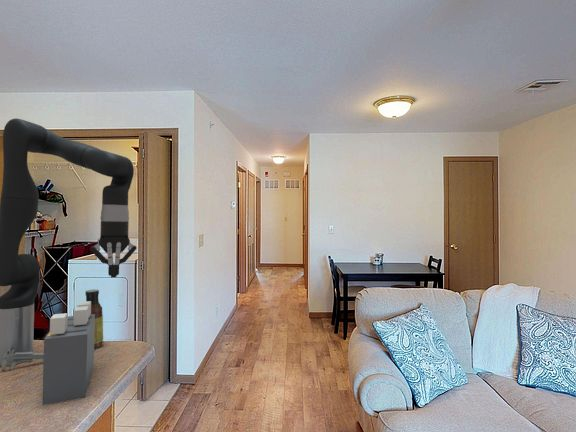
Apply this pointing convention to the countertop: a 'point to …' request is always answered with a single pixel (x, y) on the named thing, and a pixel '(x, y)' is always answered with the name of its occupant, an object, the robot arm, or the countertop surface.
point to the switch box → (68, 362)
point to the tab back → (86, 303)
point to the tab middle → (81, 315)
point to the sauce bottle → (96, 316)
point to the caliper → (19, 358)
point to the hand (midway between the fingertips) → (113, 277)
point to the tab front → (58, 324)
